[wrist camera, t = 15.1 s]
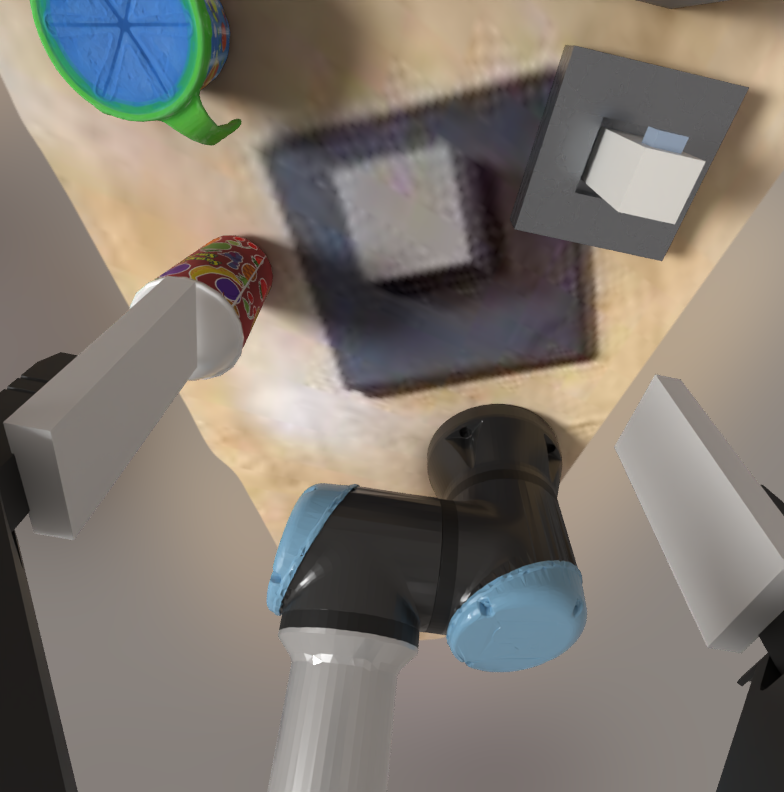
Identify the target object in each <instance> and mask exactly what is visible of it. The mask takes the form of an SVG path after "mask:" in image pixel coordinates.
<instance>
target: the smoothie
mask: <svg viewBox="0 0 784 792" xmlns="http://www.w3.org/2000/svg"><path fill="white" fill-rule="evenodd" d="M166 276H172V277H177V278H182V279H187V280H192V281H196V322H197V368H196V369H195V371H194V372H193V373H192V375H191V376H190V378H189V379H188V381H196V380H200V379H210V378H213V377H217V376H221V375H223V374H224V373H225V372H227V371H228V370H230V369H231V368H233V367H234V365H235V364H236V362H237V360H238V359H239V357H240V356H241V353H242V349H243V347H244V345H245V343H246V340H247V338H248V336H249V334H250V332H251V329H252V327H253V325H254V323H255V321H256V319H257V316H258V314H259V312H260V310H261V308H262V306H263V303H264V301H265V299H266V297H267V295H268V293H269V290H270V288H271V285H272V279H273V274H272V268H271V265H270V263H269V261H268V259H267V257H266V255H265V254H264V252H263V251H262V250H261V249H260V248H259V247H258V246H257V245H255V244H254V243H252V242H251V241H249V240H248V239H245V238H242V237H238V236H221V237H218V238H216V239H213V240H212V241H210V242H209V243H207V244H206V245H205V246H203V247H202V248H200V249H199V250H197V251H196V252H194V253H193V254H191V255H190V256H188V257H187V258H185V259H184V260H183V261H181V262H180V263H178V264H177V265H175V266H174V267H172V268H171V269H169V270H168V271H166V272H165V273H163V274H162V275H160V276H159V277H158V278H156V279H155V280H153V281H151V282H148V283H147V284H146V285H145V286H144V287H142V288H141V289H140V290H139V291H138V292H137V293H136V295H135V297H134V299H133V301H132V303H131V305H130V309H131V308H132V307H133V306H134V305H135V304H136V303H137V302H138V301H139V300H141V299H142V298H143V297H144V296H145V295H146V294H147V293H148V292H150V291H151V290H152V289H153V288H154V287H155V286H156V285H157V284H159V283H160V282H161V281H162V280H163V279H164V278H165V277H166Z"/></svg>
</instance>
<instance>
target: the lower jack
mask: <svg viewBox="0 0 784 792" xmlns="http://www.w3.org/2000/svg"><path fill="white" fill-rule="evenodd" d="M748 89H749V87H744V86H740V85H736V84H732V83H728V82H724V81H719V80H715V79H711V78H707V77H703V76H699V75H695V74H690V73H686V72H682V71H678V70H674V69H670V68H665V67H661V66H657V65H653V64H649V63H645V62H641V61H636V60H632V59H628V58H624V57H620V56H616V55H612V54H607V53H603V52H599V51H595V50H591V49H587V48H582V47H578V46H569V45H565V47H564V50H563V54H562V57H561V60H560V63H559V66H558V69H557V72H556V76H555V79H554V82H553V85H552V88H551V91H550V94H549V98H548V101H547V104H546V107H545V110H544V113H543V117H542V120H541V123H540V126H539V129H538V132H537V135H536V139H535V142H534V145H533V148H532V151H531V154H530V157H529V161H528V164H527V167H526V170H525V173H524V176H523V180H522V183H521V186H520V189H519V192H518V195H517V198H516V202H515V205H514V208H513V211H512V214H511V217H510V220H511V223H512V225H513V227H514V229H516V230H521V231H526V232H530V233H535V234H539V235H544V236H549V237H553V238H558V239H562V240H567V241H572V242H576V243H581V244H586V245H590V246H595V247H599V248H604V249H609V250H613V251H618V252H622V253H627V254H632V255H636V256H641V257H645V258H650V259H655V260H659V261H662V260H663V258H664V256H665V254H666V252H667V250H668V248H669V247H670V245H671V243H672V241H673V239H674V237H675V235H676V233H677V231H678V229H679V227H680V225H681V223H682V221H683V219H684V217H685V215H686V213H687V211H688V209H689V207H690V205H691V203H692V201H693V199H694V197H695V195H696V193H697V191H698V189H699V187H700V185H701V183H702V181H703V179H704V177H705V175H706V173H707V171H708V169H709V167H710V165H711V163H712V161H713V159H714V157H715V155H716V153H717V151H718V149H719V147H720V145H721V143H722V141H723V139H724V137H725V135H726V133H727V131H728V129H729V127H730V125H731V123H732V121H733V119H734V117H735V115H736V113H737V111H738V109H739V107H740V105H741V103H742V101H743V99H744V97H745V95H746V93H747V91H748ZM648 126H650V127H654V128H658V129H662V130H667V131H671V132H675V133H679V134H682V135H684V136H687V137H689V138H688V140H687V143H686V145H685V147H684V149H683V151H682V152H685V153H687V154H690V155H692V156H694V157H697V158H699V159H701V160H704V161H706V162H705V164H704V166H703V168H702V170H701V172H700V174H699V176H698V178H697V180H696V182H695V184H694V186H693V188H692V191H691V193H690V195H689V197H688V199H687V201H686V203H685V205H684V207H683V209H682V211H681V213H680V215H679V217H678V219H677V221H676V223H675V224H671V223H666V222H662V221H657V220H653V219H648V218H644V217H639V216H634V215H630V214H625V213H621V212H618V211H616V210H615V209H614V208H613V207H612V206H611V205H610V204H608V203H607V202H606V201H605V200H604V199H603V198H602V197H601V196H599V195H598V194H597V193H596V192H595V191H594V190H593V189H591V188H590V187H589V186H588V185H587V184H586V183H585V182H583V181H582V177H583V174H584V172H585V169H586V166H587V164H588V161H589V158H590V156H591V153H592V150H593V148H594V145H595V142H596V140H597V137H598V134H599V132H600V129H601V127H605V128H610V129H614V130H618V131H623V132H627V133H631V134H636V135H640V136H645V133H646V131H647V129H648Z"/></svg>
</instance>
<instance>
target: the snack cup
mask: <svg viewBox="0 0 784 792" xmlns="http://www.w3.org/2000/svg"><path fill="white" fill-rule="evenodd" d="M30 4H31V9H32V14H33V19H34V22H35V25H36V28H37V31H38V34H39V37H40V39H41V42H42V44H43V46H44V48H45V50H46V52H47V54H48V56H49V57H50V59H51V61H52V63H53V64H54V66H55V68H56V69H57V70H58V72H59V73H60V74H61V76H62V77H63V78H64V79H65V80H66V82H67V83H68V84H69V85H70V86H71V87H72V88H73V89H74V90H75V91H76V92H77V93H78V94H79V95H80V96H82V97H83V98H84V99H85V100H86V101H88V102H89V103H91V104H92V105H94V106H95V107H96V108H97V109H98V110H100V111H101V112H102V113H104V114H107V115H112V116H115V117H117V118H121V119H125V120H129V121H141V122H144V121H155V120H158V121H162V122H165V123H166V124H168V125H169V126H171V127H172V128H173V129H175V130H176V131H178V132H180V133H181V134H183V135H184V136H186V137H188V138H190V139H191V140H193V141H196V142H199V143H201V144H205V145H215V144H216V143H218V142H220V141H221V140H222V139H224V138H225V137H227V136H228V135H229V134H231V133H233V132H234V131H235V130H236V129H238V127H239V126H240V125H241V119H234V120H232V121H230V122H229V123H228V124H225V125H220V126H217V125H216V124H215V122H214V121H213V120H212V119H211V118H210V117H209V116H208V114H207V112H206V110H205V109H204V107H203V105H202V103H201V100H200V96H199V94H200V90H201V89H203V88H204V87H205V86H206V85H208V84H209V83H210V82H211V81H212V80H214V79H215V78H216V77H217V76H218V74H219V73H220V72H221V69H222V67H223V65H224V64H225V62H226V59H227V56H228V52H229V38H230V29H229V24H228V21H227V18H226V16H225V13H224V10H223V6H222V4H221V3H220V1H219V0H30Z"/></svg>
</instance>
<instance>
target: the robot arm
mask: <svg viewBox="0 0 784 792" xmlns="http://www.w3.org/2000/svg"><path fill="white" fill-rule="evenodd" d="M196 368H197V322H196V281H192V280H187V279H182V278H177V277H172V276H166V277H165V278H164V279H163V280H162V281H161V282H160V283H159V284H157V285H156V286H155V287H154V288H153V289H152V290H151V291H150V292H148V293H147V294H146V295H145V296H144V297H143V298H142V299H141V300H139V301H138V302H137V303H136V304H135V305H134V306H133V307H132V308H131V309H129V310H128V311H127V312H126V313H125V314H124V315H123V316H122V317H121V318H119V319H118V320H117V321H116V322H115V323H114V324H113V325H112V326H110V327H109V328H108V329H107V330H106V331H105V332H104V333H103V334H102V335H100V336H99V337H98V338H97V339H96V340H95V341H94V342H92V343H91V344H90V345H89V346H88V347H87V348H86V349H85V350H84V351H83V352H82V353H80V354H79V355H72V354H67V353H61V352H60V353H58V354H56V355H53V356H51V357H49V358H46V359H44V360H41V361H39V362H37V363H36V364H34V365H33V366H32V367H31V368H29V369H28V370H27V371H26V372H25V373H23V374H22V375H21V378H17V379H16V380H15V381H14V382H12V383H11V384H10V385H9V386H8V388H7V390H6V389H4V390H3V391H1V392H0V792H78V791H77V787H76V782H75V778H74V774H73V770H72V766H71V761H70V757H69V753H68V749H67V745H66V740H65V736H64V732H63V728H62V724H61V720H60V715H59V711H58V707H57V703H56V698H55V695H54V690H53V686H52V682H51V677H50V673H49V669H48V665H47V661H46V657H45V652H44V648H43V644H42V640H41V636H40V632H39V628H38V623H37V619H36V615H35V611H34V606H33V602H32V598H31V594H30V590H29V585H28V581H27V577H26V573H25V569H24V564H23V560H22V556H21V552H20V547H19V544H18V539H17V536H16V533H15V528H16V527H17V525H18V524H19V523H20V522H21V521H22V520H23V519H24V517H25V516H26V515H27V514H28V513H29V517H30V520H31V524H32V527H33V531H34V533H36V534H42V535H48V536H54V537H60V538H65V539H72V540H74V539H75V538H76V537H77V535H78V534H79V532H80V531H81V530H82V528H83V527H84V525H85V524H86V523H87V521H88V520H89V518H90V517H91V516H92V514H93V513H94V511H95V510H96V508H97V507H98V506H99V504H100V503H101V501H102V500H103V499H104V497H105V496H106V494H107V493H108V492H109V490H110V489H111V487H112V486H113V485H114V483H115V482H116V480H117V479H118V478H119V476H120V475H121V473H122V472H123V470H124V469H125V468H126V466H127V465H128V463H129V462H130V461H131V459H132V458H133V456H134V455H135V454H136V452H137V451H138V449H139V448H140V447H141V445H142V444H143V442H144V441H145V439H146V438H147V436H148V435H149V434H150V432H151V431H152V430H153V428H154V427H155V425H156V424H157V423H158V421H159V420H160V418H161V417H162V415H163V414H164V413H165V411H166V410H167V409H168V407H169V406H170V404H171V403H172V402H173V400H174V399H175V397H176V396H177V395H178V393H179V392H180V390H181V389H182V388H183V386H184V385H185V383H186V382H187V381H188V379H189V378H190V376H191V375H192V373H193V372H194V371H195V369H196ZM615 450H616V452H617V454H618V456H619V458H620V460H621V462H622V465H623V467H624V469H625V471H626V473H627V476H628V478H629V480H630V482H631V484H632V486H633V488H634V491H635V493H636V495H637V497H638V499H639V501H640V503H641V506H642V508H643V510H644V512H645V514H646V516H647V519H648V521H649V523H650V525H651V527H652V529H653V531H654V534H655V536H656V538H657V540H658V542H659V544H660V546H661V549H662V551H663V553H664V555H665V557H666V559H667V562H668V564H669V566H670V568H671V570H672V572H673V575H674V577H675V579H676V581H677V583H678V585H679V587H680V590H681V592H682V594H683V596H684V598H685V600H686V602H687V605H688V607H689V609H690V611H691V613H692V615H693V618H694V620H695V622H696V624H697V626H698V628H699V631H700V632H701V635H702V637H703V639H704V641H705V643H706V646H707V647H708V648H714V649H720V650H725V651H732V652H738V653H742V652H743V651H744V650H745V649H746V648H747V647H748V646H749V645H750V644H752V642H754V641H755V640H756V639H757V638H758V637H760V639H761V640H762V643H763V644H764V646H765V648H766V650H767V651H768V653H767V654H766V655H765V656H764V657H763V658H762V659H761V660H759V661H758V662H757V663H756V664H755V665H754V666H753V667H752V668H751V669H750V670H748V671H747V672H746V673H745V674H744V675H743V676H742V677H741V678H740V679H739V680H738V682H737V683H738V684H740V685H741V686H743V685H744V684H745V683H746V682H748V681H752V682H751V685H750V689H749V691H748V694H747V698H746V701H745V704H744V707H743V710H742V713H741V716H740V719H739V722H738V725H737V729H736V732H735V735H734V738H733V741H732V744H731V747H730V750H729V753H728V757H727V760H726V763H725V766H724V769H723V772H722V775H721V778H720V781H719V784H718V787H717V790H716V792H784V503H783V502H782V501H781V500H780V499H779V498H778V497H776V496H775V495H774V494H773V493H772V492H770V491H769V490H768V489H767V488H766V487H765V486H763V485H760V484H759V483H758V482H757V480H756V479H755V477H754V476H753V475H752V473H751V472H750V471H749V469H748V468H747V467H746V465H745V464H744V463H743V461H742V460H741V459H740V457H739V456H738V455H737V453H736V452H735V451H734V449H733V448H732V447H731V446H730V444H729V443H728V442H727V440H726V439H725V438H724V436H723V435H722V434H721V432H720V431H719V430H718V428H717V427H716V426H715V425H714V423H713V422H712V421H711V419H710V418H709V416H708V415H707V414H706V413H705V411H704V410H703V408H702V407H701V406H700V404H699V403H698V402H697V401H696V399H695V398H694V397H693V395H692V394H691V393H690V391H689V390H688V389H687V388H686V386H685V385H684V383H683V382H682V381H681V379H675V378H671V377H666V376H660V375H655V376H654V378H653V379H652V381H651V383H650V385H649V387H648V388H647V390H646V392H645V394H644V395H643V397H642V399H641V401H640V402H639V405H638V406H637V408H636V410H635V411H634V413H633V415H632V417H631V419H630V420H629V422H628V424H627V426H626V427H625V429H624V431H623V433H622V435H621V436H620V438H619V440H618V442H617V443H616V445H615ZM427 470H428V476H429V480H430V483H431V485H432V488H433V489H434V492H435V494H436V496H437V498H434V497H427V496H419V495H412V494H405V493H398V492H392V491H386V490H379V489H373V488H366V487H360V486H359V485H357V484H352V485H349V486H348V485H336V484H325V483H320V484H315V485H313V486H311V487H309V488H308V489H307V490H305V491H304V493H303V494H302V495H301V497H300V498H299V499H298V501H297V503H296V505H295V506H294V508H293V510H292V513H291V515H290V517H289V519H288V522H287V524H286V527H285V530H284V532H283V535H282V538H281V541H280V544H279V547H278V550H277V554H276V557H275V560H274V564H273V570H274V571H273V573H272V575H271V579H270V582H269V585H268V592H267V606H268V608H269V610H270V611H272V612H274V613H275V614H276V615H279V616H280V615H282V619H281V623H280V629H279V633H278V637H279V639H280V640H281V642H282V644H283V645H284V647H285V648H286V650H287V652H288V653H289V655H290V658H291V661H292V664H291V669H290V674H289V680H288V685H287V691H286V696H285V701H284V707H283V712H282V717H281V722H280V728H279V733H278V738H277V744H276V749H275V754H274V760H273V766H272V771H271V776H270V781H269V786H268V792H387V786H388V774H389V763H390V752H391V741H392V730H393V719H394V707H395V696H396V684H397V676H398V674H399V672H400V671H401V669H402V668H403V667H404V666H405V665H406V664H408V663H409V662H410V661H411V660H412V659H413V658H414V657H415V656H416V655H417V654H418V643H419V632H428V633H435V634H441V635H446V638H447V643H448V645H449V647H450V649H451V651H452V653H453V655H454V656H455V657H456V658H457V659H458V660H459V661H460V662H465V663H466V665H467V666H469V667H471V668H474V669H477V670H482V671H488V672H510V671H519V670H524V669H528V668H532V667H535V666H538V665H541V664H543V663H545V662H547V661H549V660H552V659H554V658H556V657H558V656H559V655H561V654H562V653H564V652H565V651H567V650H568V649H569V648H570V647H571V646H572V645H573V644H574V643H575V642H576V641H577V639H578V638H579V637H580V635H581V633H582V632H583V629H584V627H585V624H586V618H587V608H586V603H585V598H584V592H583V587H582V575H581V572H580V570H579V569H578V567H577V564H576V561H575V557H574V554H573V551H572V547H571V544H570V541H569V537H568V534H567V530H566V527H565V524H564V521H563V517H562V514H561V510H560V507H559V504H558V500H557V495H558V489H559V483H560V477H561V471H562V456H561V451H560V448H559V445H558V442H557V439H556V436H555V434H554V432H553V431H552V429H551V428H550V426H549V425H548V424H547V423H546V422H545V421H544V420H543V419H541V418H540V417H539V416H537V415H536V414H534V413H532V412H530V411H528V410H525V409H523V408H519V407H515V406H510V405H501V404H492V405H483V406H478V407H474V408H470V409H468V410H465V411H463V412H460V413H458V414H456V415H455V416H453V417H452V418H450V419H449V420H447V421H446V422H445V423H444V424H443V425H442V426H441V427H440V428H439V429H438V430H437V431H436V433H435V434H434V436H433V438H432V440H431V442H430V444H429V448H428V453H427Z"/></svg>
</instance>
